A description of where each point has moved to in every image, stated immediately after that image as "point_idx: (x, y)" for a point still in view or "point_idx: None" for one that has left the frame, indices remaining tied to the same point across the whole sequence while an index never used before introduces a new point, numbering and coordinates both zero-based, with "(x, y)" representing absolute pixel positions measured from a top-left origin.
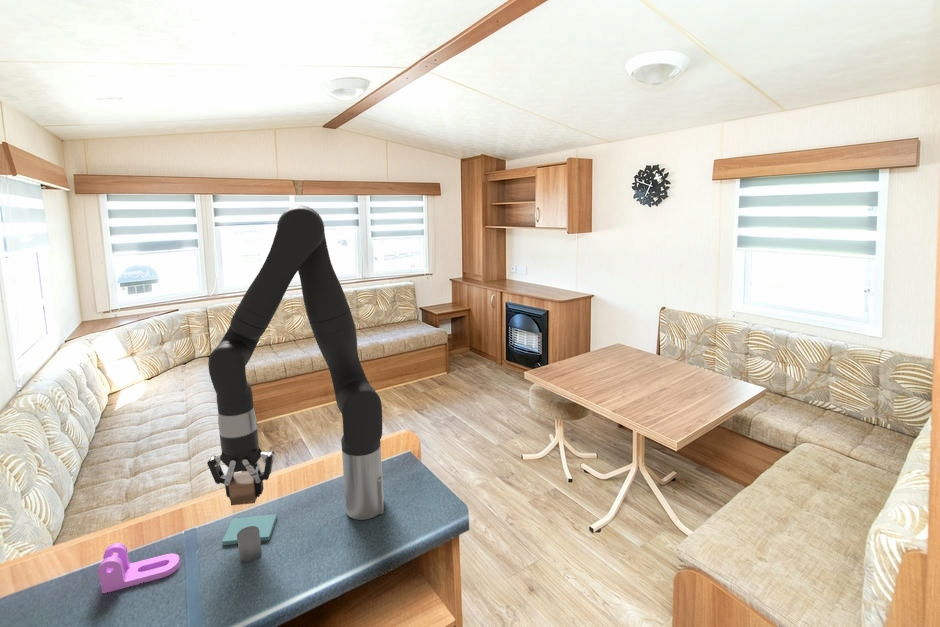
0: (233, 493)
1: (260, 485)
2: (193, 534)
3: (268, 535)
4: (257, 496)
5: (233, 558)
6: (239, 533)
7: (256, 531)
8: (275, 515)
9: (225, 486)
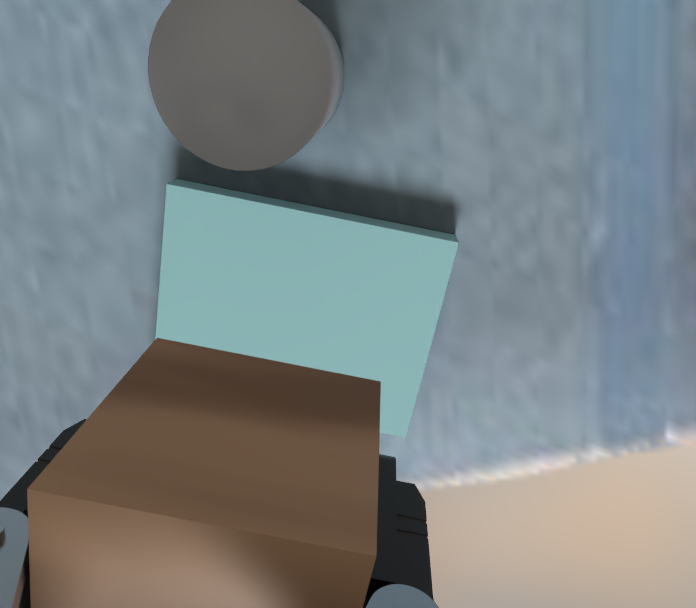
0: (333, 456)
1: (23, 489)
2: (617, 397)
3: (170, 194)
4: None
5: (382, 76)
6: (311, 99)
7: (169, 71)
8: None
9: (430, 591)
